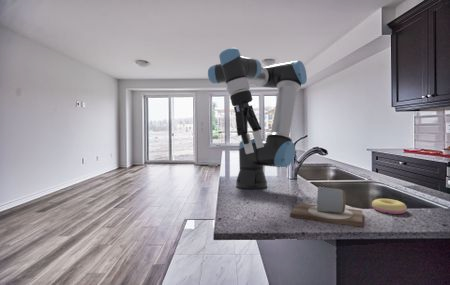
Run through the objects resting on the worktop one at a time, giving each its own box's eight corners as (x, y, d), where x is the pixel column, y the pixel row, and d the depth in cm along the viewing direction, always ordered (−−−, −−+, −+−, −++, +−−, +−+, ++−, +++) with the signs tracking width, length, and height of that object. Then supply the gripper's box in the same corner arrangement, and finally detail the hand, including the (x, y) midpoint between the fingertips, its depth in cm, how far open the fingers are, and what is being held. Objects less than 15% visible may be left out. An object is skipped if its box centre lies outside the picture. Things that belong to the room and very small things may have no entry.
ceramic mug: (346, 216, 75) (346, 190, 75) (316, 214, 78) (316, 188, 78) (342, 207, 85) (342, 184, 85) (316, 205, 88) (316, 182, 88)
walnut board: (298, 206, 91) (298, 202, 91) (362, 213, 82) (362, 209, 82) (289, 217, 80) (289, 213, 80) (362, 227, 70) (362, 222, 70)
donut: (388, 212, 90) (365, 210, 89) (388, 199, 91) (365, 196, 90) (414, 216, 81) (388, 214, 79) (414, 201, 81) (388, 199, 80)
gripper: (241, 97, 104) (255, 147, 104) (216, 94, 81) (233, 158, 81) (258, 91, 101) (273, 143, 101) (237, 86, 78) (255, 153, 78)
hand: (255, 150), depth 91 cm, fingers open, 13 cm apart
